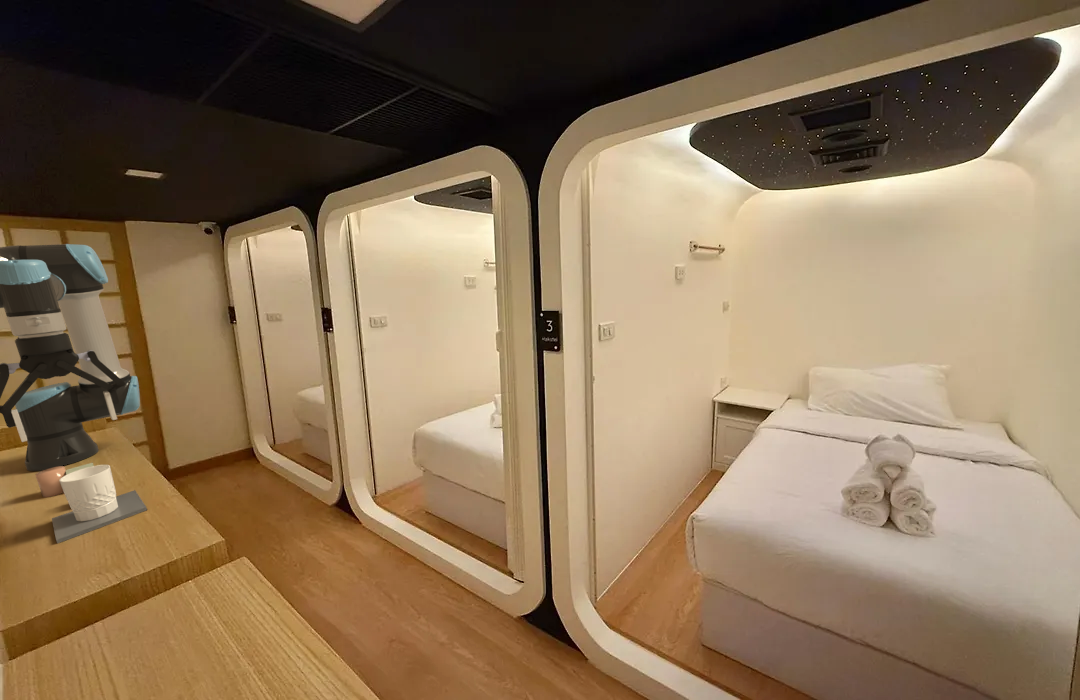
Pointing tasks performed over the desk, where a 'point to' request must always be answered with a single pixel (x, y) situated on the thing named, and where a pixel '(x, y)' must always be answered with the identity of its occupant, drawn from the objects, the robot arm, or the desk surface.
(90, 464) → the sage block
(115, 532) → the desk surface
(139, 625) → the desk surface
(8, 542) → the desk surface
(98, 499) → the white cup
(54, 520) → the coaster
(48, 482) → the copper rounded block
